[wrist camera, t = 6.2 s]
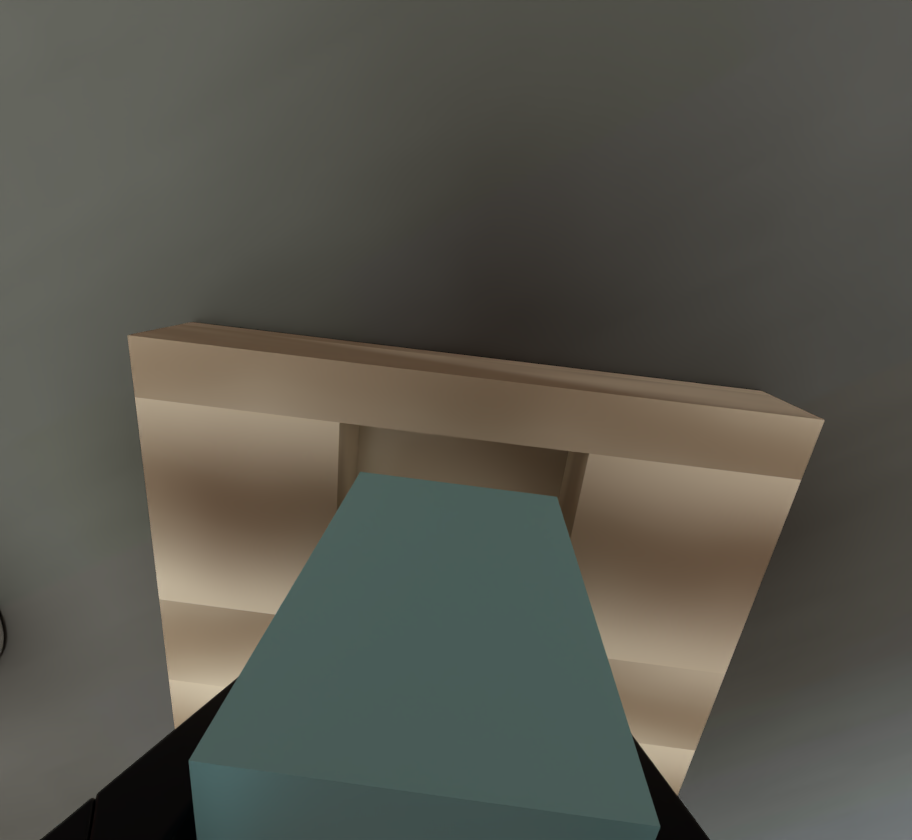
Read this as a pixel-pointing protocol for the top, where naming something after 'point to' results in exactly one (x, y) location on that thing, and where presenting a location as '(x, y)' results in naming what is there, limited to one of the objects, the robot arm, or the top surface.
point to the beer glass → (1, 636)
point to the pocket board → (467, 463)
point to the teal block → (427, 686)
